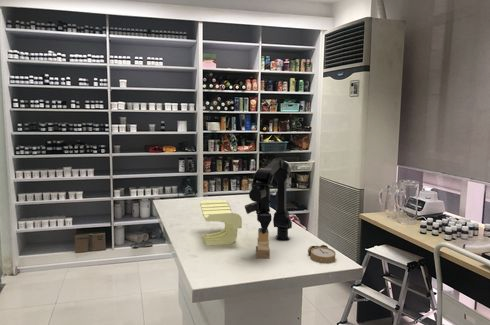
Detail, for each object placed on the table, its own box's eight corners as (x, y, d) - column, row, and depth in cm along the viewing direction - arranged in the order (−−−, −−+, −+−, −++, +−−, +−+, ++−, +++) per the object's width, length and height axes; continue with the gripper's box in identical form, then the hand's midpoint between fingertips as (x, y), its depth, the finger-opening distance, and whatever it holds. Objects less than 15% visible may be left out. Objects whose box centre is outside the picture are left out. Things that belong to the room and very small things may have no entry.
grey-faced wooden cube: (258, 238, 180) (258, 228, 180) (267, 238, 180) (267, 228, 180) (258, 241, 176) (258, 230, 175) (268, 241, 176) (268, 230, 175)
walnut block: (255, 254, 182) (256, 246, 182) (268, 254, 182) (268, 246, 182) (256, 259, 176) (256, 250, 176) (269, 259, 176) (269, 250, 176)
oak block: (257, 246, 181) (257, 238, 181) (268, 246, 181) (268, 238, 181) (257, 250, 176) (257, 241, 176) (268, 250, 176) (268, 241, 176)
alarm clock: (317, 258, 170) (304, 241, 183) (316, 268, 171) (303, 251, 185) (340, 256, 172) (325, 240, 186) (339, 266, 174) (324, 249, 188)
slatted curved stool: (241, 248, 189) (241, 212, 187) (209, 251, 185) (209, 214, 183) (228, 230, 218) (228, 199, 216) (200, 232, 214) (200, 200, 212)
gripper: (245, 193, 185) (245, 224, 187) (246, 201, 166) (245, 237, 168) (268, 193, 185) (268, 225, 187) (272, 201, 166) (271, 237, 168)
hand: (263, 230), depth 177 cm, fingers open, 9 cm apart
